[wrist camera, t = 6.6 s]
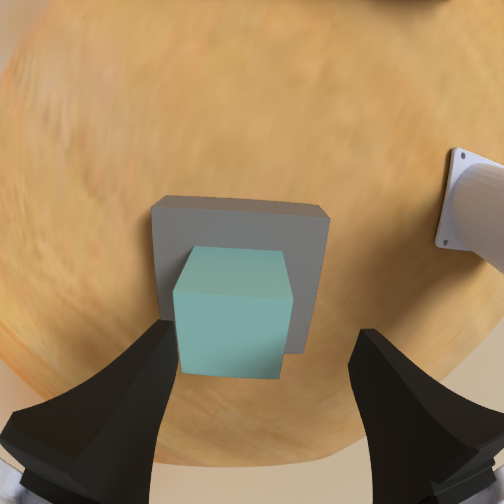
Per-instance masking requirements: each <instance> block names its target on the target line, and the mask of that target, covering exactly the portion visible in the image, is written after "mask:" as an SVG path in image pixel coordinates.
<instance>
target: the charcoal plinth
mask: <svg viewBox="0 0 504 504" xmlns="http://www.w3.org/2000/svg"><path fill="white" fill-rule="evenodd" d="M151 217H152V237H153V252H154V265H155V276H156V287H157V296H158V305H159V313H160V320H169V321H174V328H175V336H176V344H177V346H178V339H177V330H176V321H175V311H174V300H173V290H174V288H175V286H176V283H177V281H178V279H179V277H180V275H181V273H182V271H183V268H184V266H185V264H186V262H187V260H188V258H189V256H190V254H191V252H192V250H193V248H194V246H203V247H220V248H236V249H253V250H269V251H282V252H283V257H284V261H285V265H286V269H287V273H288V278H289V282H290V286H291V291H292V295H293V305H292V311H291V317H290V322H289V328H288V334H287V339H286V345H285V350H284V354H303V352H304V348H305V343H306V339H307V335H308V331H309V327H310V322H311V318H312V313H313V309H314V304H315V299H316V294H317V290H318V285H319V280H320V274H321V269H322V264H323V259H324V253H325V247H326V242H327V236H328V230H329V223H330V217H329V216H328V215H327V214H326V213H325V212H324V211H323V209H322V208H321V207H320V206H319V205H312V204H301V203H290V202H278V201H265V200H250V199H235V198H216V197H194V196H165V197H164V198H162V199H161V200H160V201H158V202H157V203H156V204H154V205H153V206H152V207H151Z"/></svg>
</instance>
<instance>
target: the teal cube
mask: <svg viewBox="0 0 504 504" xmlns="http://www.w3.org/2000/svg"><path fill="white" fill-rule="evenodd" d="M173 300H174V311H175V321H176V330H177V339H178V347H179V355H180V363H181V370H182V373H189V374H198V375H208V376H220V377H234V378H254V379H279V376H280V371H281V366H282V361H283V356H284V350H285V345H286V339H287V334H288V328H289V322H290V317H291V311H292V305H293V295H292V291H291V286H290V282H289V278H288V273H287V269H286V265H285V261H284V257H283V252H282V251H269V250H253V249H236V248H220V247H203V246H194V248H193V250H192V252H191V254H190V256H189V258H188V260H187V262H186V264H185V266H184V268H183V271H182V273H181V275H180V277H179V279H178V281H177V283H176V286H175V288H174V290H173Z"/></svg>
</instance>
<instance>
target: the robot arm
mask: <svg viewBox="0 0 504 504" xmlns="http://www.w3.org/2000/svg"><path fill="white" fill-rule="evenodd" d="M461 154H462V155H463V156H462V158H461ZM445 240H446V241H445ZM444 241H445V243H444ZM435 245H436V246H437V247H439V248H446V249H456V250H465V251H473V252H474V253H476V254H477V255H479V256H480V257H481V258H483V259H484V260H485V261H487V262H488V263H489V264H491V265H492V266H493V267H495V268H496V269H497V270H499V271H500V272H501V273H502V274H504V166H502V165H500V164H498V163H495V162H493V161H491V160H489V159H486V158H484V157H482V156H479V155H477V154H474V153H472V152H469V151H467V150H464V149H461V148H458V147H455V148H453V150H452V155H451V163H450V170H449V176H448V182H447V188H446V193H445V198H444V203H443V208H442V213H441V217H440V222H439V226H438V230H437V234H436V238H435ZM178 360H179V359H178V352H177V344H176V336H175V328H174V321H169V320H160V319H158V320H157V321H156V322H155V323H154V324H153V325H152V326H151V327H150V328H149V329H148V330H147V331H146V332H145V333H144V334H143V335H142V336H141V337H140V338H138V339H137V340H136V341H135V342H134V343H133V344H132V345H131V346H130V347H129V348H128V349H127V350H126V351H125V352H123V353H122V354H121V355H120V356H119V357H118V358H116V359H115V360H114V361H113V362H112V363H110V364H109V365H108V366H107V367H105V368H104V369H103V370H101V371H100V372H99V373H97V374H96V375H94V376H93V377H91V378H90V379H88V380H87V381H85V382H84V383H82V384H80V385H78V386H76V387H75V388H73V389H71V390H69V391H67V392H66V393H64V394H62V395H59V396H57V397H55V398H53V399H51V400H48V401H46V402H44V403H41V404H38V405H35V406H32V407H29V408H26V409H22V410H19V411H15V412H13V414H12V415H11V417H10V418H9V420H8V422H7V424H6V426H5V427H4V429H3V431H2V433H1V434H0V444H1V445H2V446H3V447H4V449H5V450H6V451H7V452H8V453H10V454H11V455H12V456H13V457H14V458H15V459H16V460H17V461H18V462H19V463H20V464H21V465H23V466H24V467H25V471H24V473H22V472H20V471H19V470H18V469H16V468H15V467H13V466H12V465H10V464H8V463H7V462H6V461H4V460H3V459H1V458H0V504H149V491H150V481H151V472H152V465H153V458H154V452H155V446H156V441H157V435H158V432H159V428H160V424H161V421H162V418H163V415H164V412H165V409H166V406H167V403H168V400H169V396H170V393H171V390H172V387H173V384H174V381H175V376H176V371H177V365H178ZM348 370H349V376H350V382H351V387H352V390H353V393H354V396H355V400H356V403H357V406H358V409H359V412H360V415H361V418H362V422H363V425H364V428H365V432H366V436H367V440H368V447H369V453H370V461H371V470H372V483H373V484H372V485H373V504H504V465H502V466H501V467H499V468H498V469H496V470H495V471H494V472H493V470H492V466H494V465H495V461H494V458H493V457H494V456H495V455H497V454H498V453H499V452H500V451H501V450H502V449H503V448H504V413H501V412H498V411H494V410H491V409H488V408H485V407H483V406H481V405H478V404H476V403H474V402H471V401H469V400H467V399H465V398H464V397H462V396H460V395H458V394H456V393H454V392H453V391H451V390H449V389H448V388H446V387H445V386H443V385H442V384H440V383H439V382H437V381H436V380H434V379H433V378H432V377H430V376H429V375H428V374H426V373H425V372H424V371H423V370H421V369H420V368H419V367H418V366H416V365H415V364H414V363H413V362H412V361H411V360H409V359H408V358H407V357H406V356H405V355H404V354H403V353H402V352H400V351H399V350H398V349H397V348H396V347H395V346H394V345H393V344H392V343H391V342H389V341H388V340H387V339H386V338H385V337H384V336H383V335H382V334H380V333H379V332H378V331H377V330H376V329H361V330H360V333H359V336H358V339H357V341H356V344H355V347H354V350H353V353H352V355H351V358H350V361H349V363H348Z"/></svg>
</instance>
